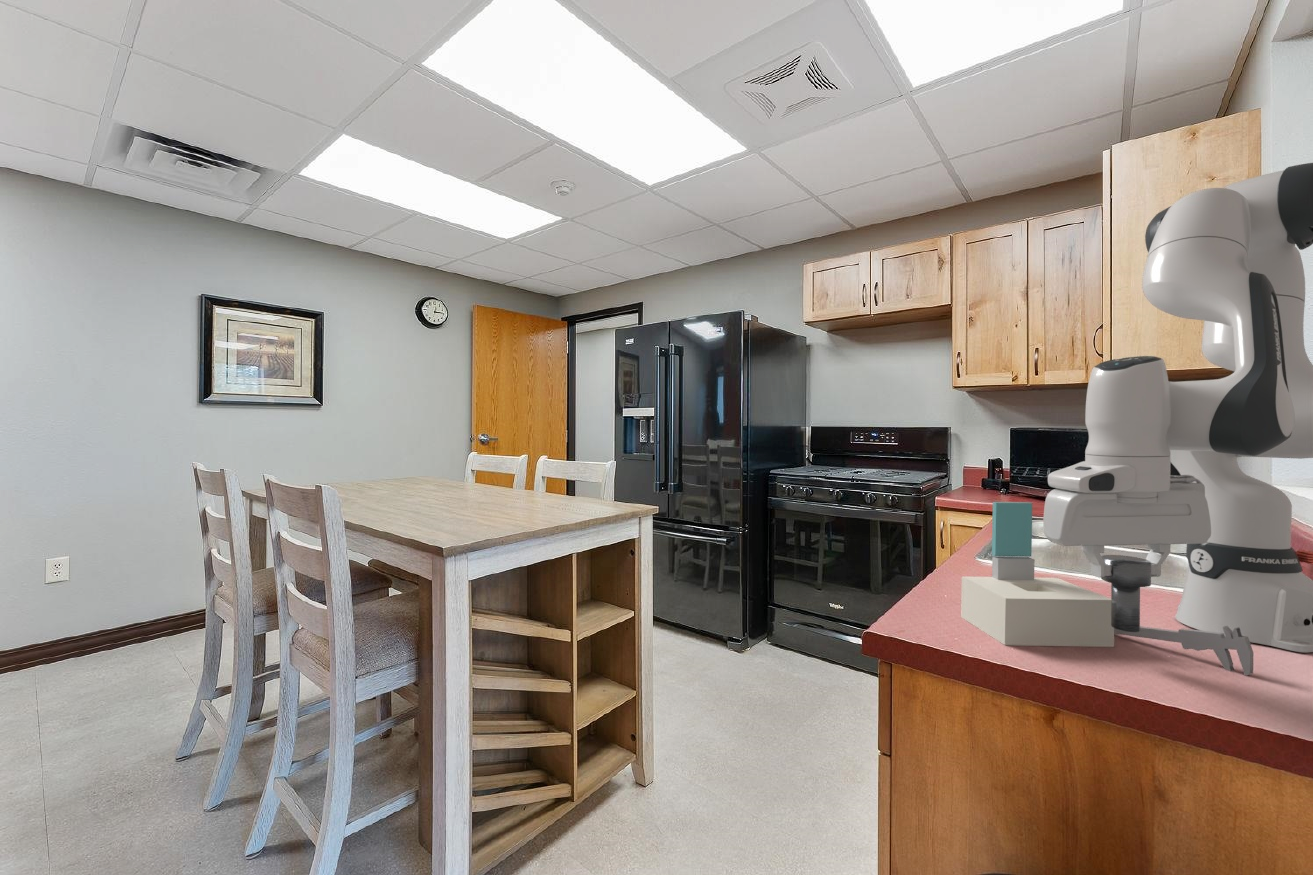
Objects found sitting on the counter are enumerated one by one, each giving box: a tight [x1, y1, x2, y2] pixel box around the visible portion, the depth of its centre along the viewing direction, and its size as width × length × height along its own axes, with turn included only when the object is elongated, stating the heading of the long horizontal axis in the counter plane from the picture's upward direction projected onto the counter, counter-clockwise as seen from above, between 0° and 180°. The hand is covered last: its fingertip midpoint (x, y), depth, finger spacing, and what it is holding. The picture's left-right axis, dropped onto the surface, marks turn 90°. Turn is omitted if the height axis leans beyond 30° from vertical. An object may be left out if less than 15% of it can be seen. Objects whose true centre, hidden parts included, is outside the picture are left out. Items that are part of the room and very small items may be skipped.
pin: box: [1101, 554, 1152, 632], centre depth 75 cm, size 5×5×10 cm
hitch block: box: [960, 556, 1115, 648], centre depth 87 cm, size 16×12×10 cm
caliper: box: [1114, 625, 1254, 676], centre depth 80 cm, size 20×1×6 cm, turn 25°
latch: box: [991, 501, 1033, 557], centre depth 92 cm, size 6×9×1 cm
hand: (1125, 576), depth 75 cm, fingers closed on pin, 5 cm apart
